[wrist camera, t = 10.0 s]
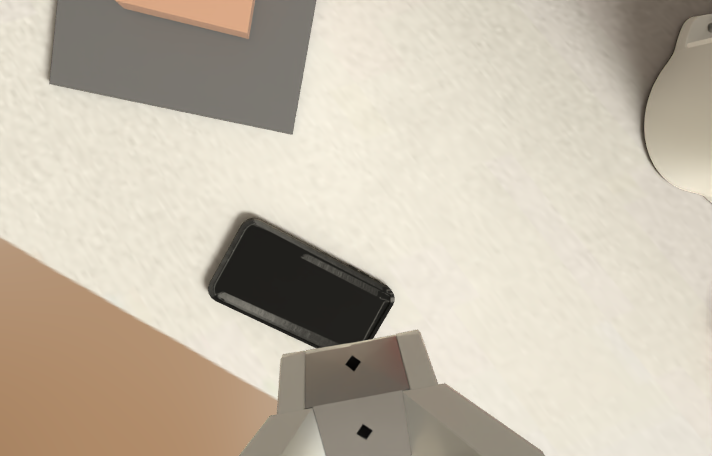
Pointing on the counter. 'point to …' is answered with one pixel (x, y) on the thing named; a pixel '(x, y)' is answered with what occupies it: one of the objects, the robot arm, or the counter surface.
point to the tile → (200, 13)
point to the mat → (187, 60)
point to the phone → (298, 288)
